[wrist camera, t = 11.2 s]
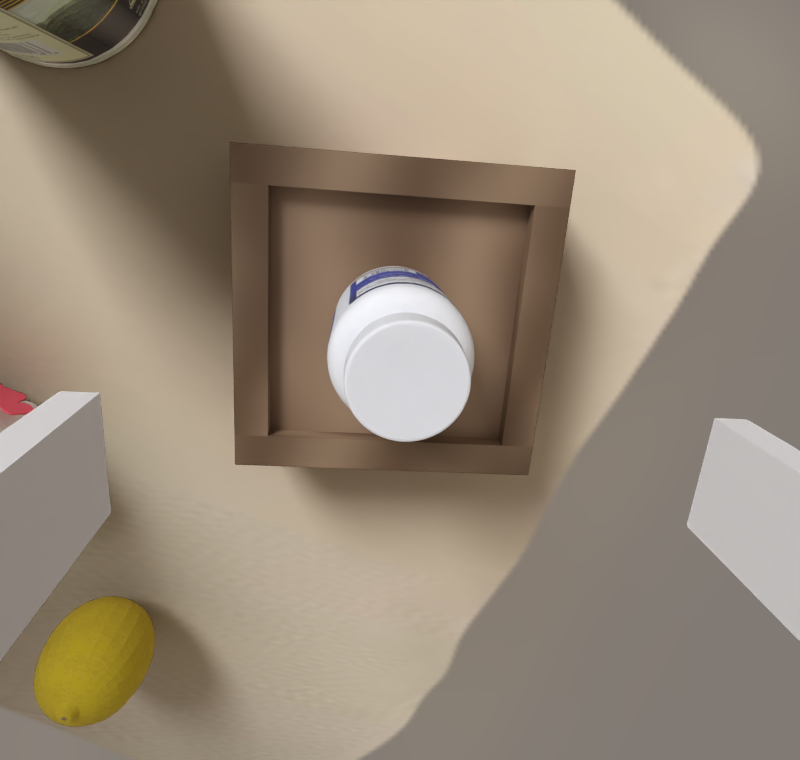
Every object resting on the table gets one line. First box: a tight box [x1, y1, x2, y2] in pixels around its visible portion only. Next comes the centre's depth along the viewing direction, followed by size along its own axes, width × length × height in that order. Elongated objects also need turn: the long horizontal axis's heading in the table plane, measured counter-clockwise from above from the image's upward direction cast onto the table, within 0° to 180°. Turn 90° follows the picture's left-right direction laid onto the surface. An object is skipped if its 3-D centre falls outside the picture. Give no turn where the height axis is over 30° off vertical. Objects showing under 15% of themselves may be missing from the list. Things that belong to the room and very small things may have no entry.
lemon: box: [33, 596, 155, 727], centre depth 32 cm, size 6×6×8 cm
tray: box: [230, 142, 576, 475], centre depth 28 cm, size 14×14×6 cm
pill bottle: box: [327, 266, 474, 442], centre depth 22 cm, size 5×5×9 cm
